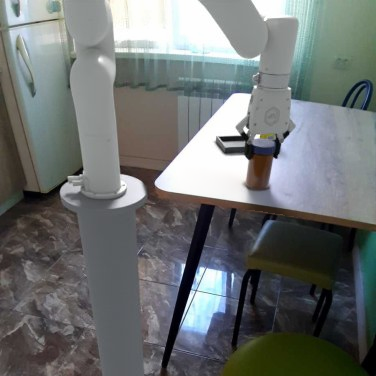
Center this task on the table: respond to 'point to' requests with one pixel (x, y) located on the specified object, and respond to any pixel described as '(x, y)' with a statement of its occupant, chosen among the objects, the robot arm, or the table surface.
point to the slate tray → (231, 143)
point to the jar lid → (263, 146)
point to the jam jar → (259, 171)
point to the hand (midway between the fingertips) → (261, 157)
